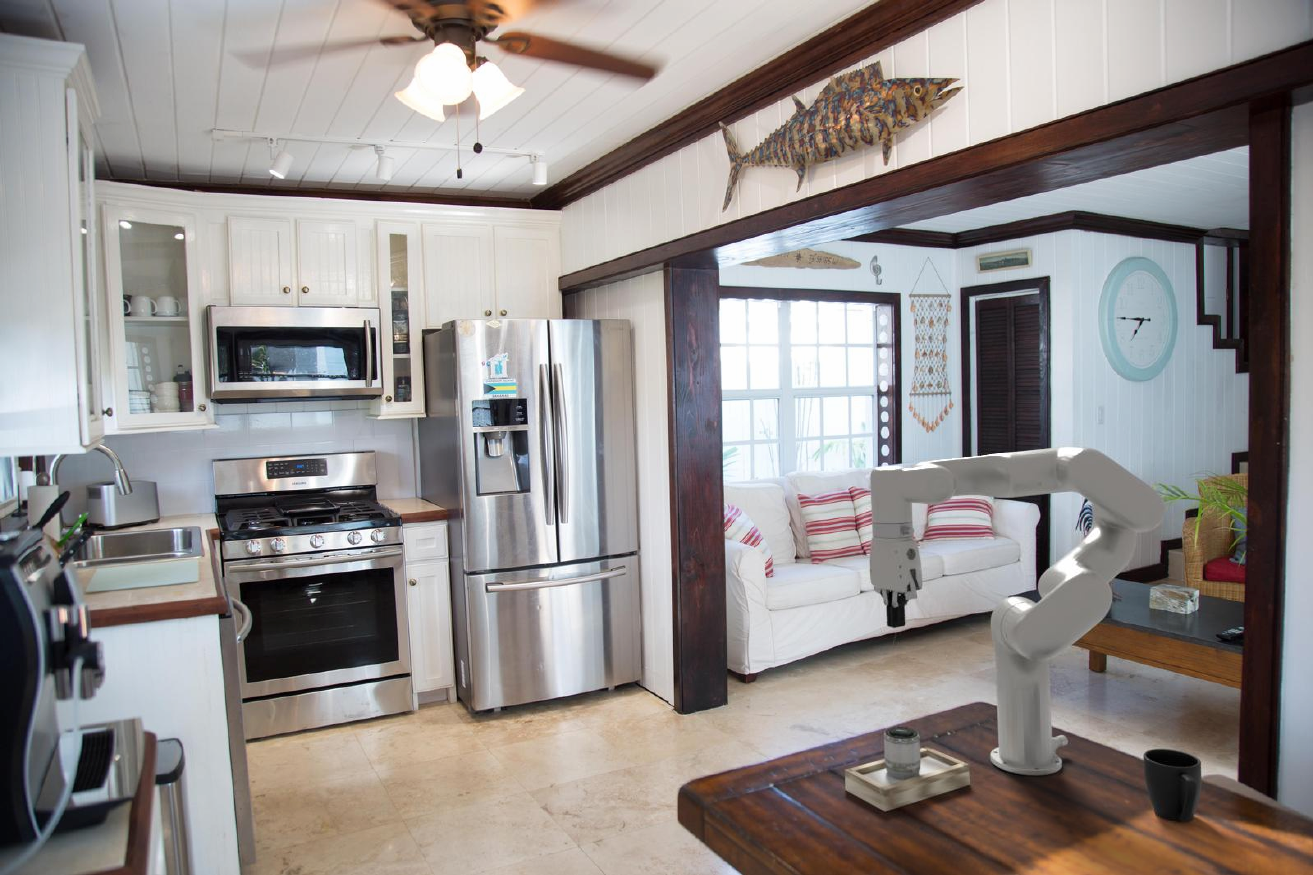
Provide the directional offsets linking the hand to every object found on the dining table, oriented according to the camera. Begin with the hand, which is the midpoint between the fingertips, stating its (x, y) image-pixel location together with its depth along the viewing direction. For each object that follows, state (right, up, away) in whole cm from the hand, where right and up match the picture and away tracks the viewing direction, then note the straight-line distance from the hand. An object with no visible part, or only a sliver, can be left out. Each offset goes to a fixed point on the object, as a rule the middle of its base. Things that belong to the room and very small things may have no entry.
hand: (896, 626), depth 170 cm
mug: (+39, -26, -26) cm, 54 cm away
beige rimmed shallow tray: (0, -27, -9) cm, 29 cm away
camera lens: (-1, -25, -10) cm, 27 cm away
